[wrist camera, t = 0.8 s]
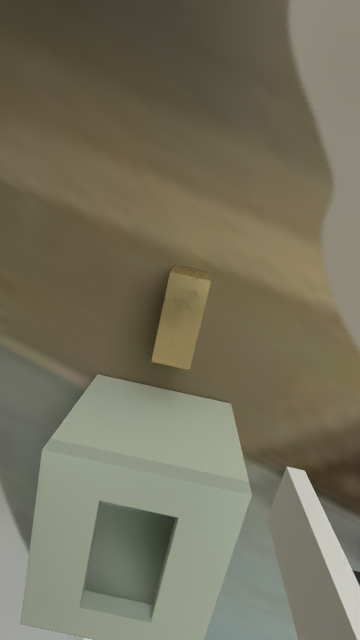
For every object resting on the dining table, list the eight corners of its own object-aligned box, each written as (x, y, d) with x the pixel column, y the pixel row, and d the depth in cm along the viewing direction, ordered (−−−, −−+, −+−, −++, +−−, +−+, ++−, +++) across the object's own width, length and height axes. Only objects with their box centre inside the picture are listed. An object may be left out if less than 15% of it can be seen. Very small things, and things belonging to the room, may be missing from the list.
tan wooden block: (175, 265, 29) (170, 271, 22) (207, 272, 29) (211, 281, 22) (160, 335, 31) (151, 361, 24) (190, 342, 31) (189, 369, 24)
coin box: (97, 374, 32) (42, 449, 20) (230, 403, 32) (251, 495, 20) (76, 500, 36) (20, 624, 24) (195, 525, 36) (196, 661, 24)
